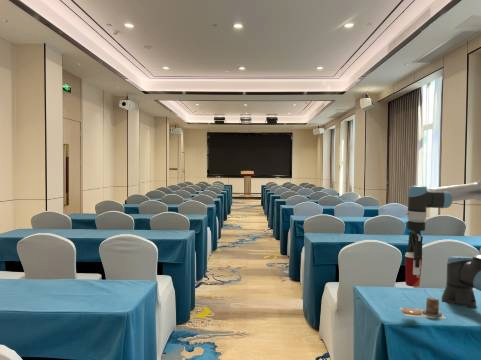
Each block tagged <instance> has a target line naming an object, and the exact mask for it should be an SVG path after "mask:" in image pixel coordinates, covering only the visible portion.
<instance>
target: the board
mask: <svg viewBox="0 0 481 360" xmlns="http://www.w3.org/2000/svg"><path fill="white" fill-rule="evenodd" d="M404 308H405V307H399V310H400V311H401V312H402V309H404ZM415 309H416V310H419V311H421V312H422V311H423V310H425V309H422V308H421V309H420V308H415ZM438 312H440V311H438ZM402 314H403V315H404V316H406V317H417V318H418V317H419V318H429V319H430V318H431V319H442V320H443V319H444V320H446V319H447V318H446V317H445V316H444V315H443V314H442V316H441V317H432V316H427V315H425V314H423V313H422V314H421V315H409V314H406V313H404V312H402Z"/></svg>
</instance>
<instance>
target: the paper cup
mask: <svg viewBox="0 0 481 360" xmlns="http://www.w3.org/2000/svg"><path fill="white" fill-rule="evenodd" d="M418 257H419V256H418ZM404 258H405V261H404V262H405V264H404V265H405V269H404V270H405V286H408V287H413V288H414V287H415V288H418V287H420V282H421V276H422V275H421V274H422V266H423V258H424V256H422V260H420V275H413V258H414V253H413V252H405V255H404Z"/></svg>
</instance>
